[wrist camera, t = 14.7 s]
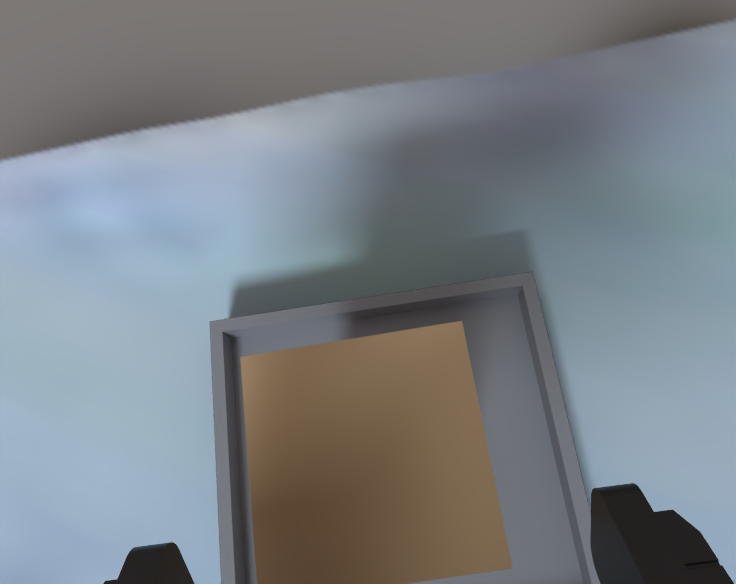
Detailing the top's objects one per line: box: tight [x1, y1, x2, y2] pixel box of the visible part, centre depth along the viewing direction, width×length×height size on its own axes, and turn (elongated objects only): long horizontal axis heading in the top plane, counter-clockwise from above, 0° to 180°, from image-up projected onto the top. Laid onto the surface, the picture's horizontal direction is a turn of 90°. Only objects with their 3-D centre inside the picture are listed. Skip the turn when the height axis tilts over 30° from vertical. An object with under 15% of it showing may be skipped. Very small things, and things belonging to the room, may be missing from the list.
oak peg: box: [240, 321, 512, 584], centre depth 16 cm, size 4×4×12 cm
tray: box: [210, 272, 601, 584], centre depth 22 cm, size 13×13×2 cm
